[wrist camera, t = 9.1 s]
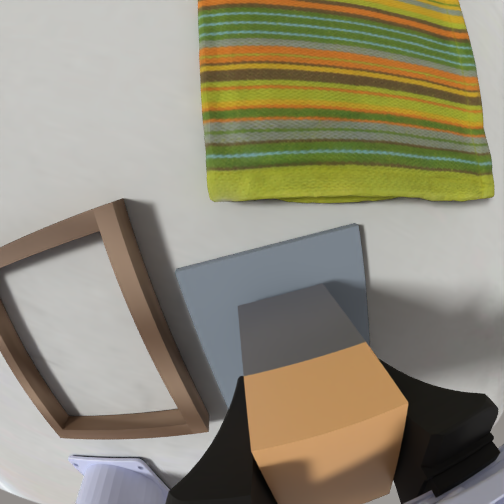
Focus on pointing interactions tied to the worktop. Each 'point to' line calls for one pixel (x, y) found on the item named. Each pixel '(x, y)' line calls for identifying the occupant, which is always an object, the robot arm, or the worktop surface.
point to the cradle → (144, 315)
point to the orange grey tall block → (318, 401)
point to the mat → (270, 290)
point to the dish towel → (341, 101)
